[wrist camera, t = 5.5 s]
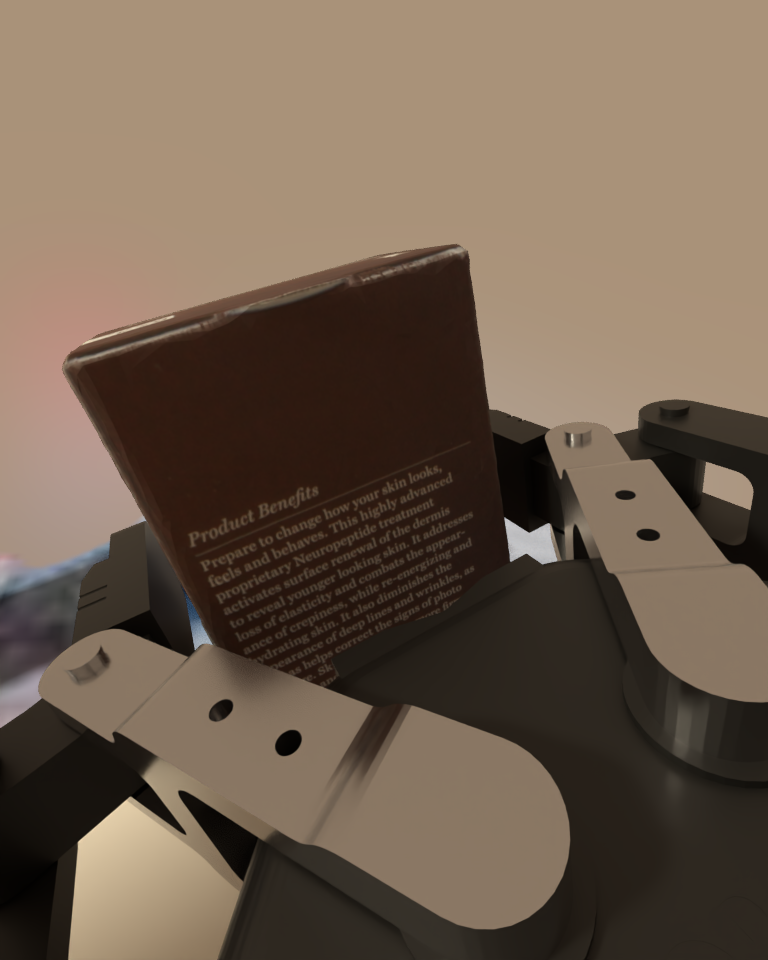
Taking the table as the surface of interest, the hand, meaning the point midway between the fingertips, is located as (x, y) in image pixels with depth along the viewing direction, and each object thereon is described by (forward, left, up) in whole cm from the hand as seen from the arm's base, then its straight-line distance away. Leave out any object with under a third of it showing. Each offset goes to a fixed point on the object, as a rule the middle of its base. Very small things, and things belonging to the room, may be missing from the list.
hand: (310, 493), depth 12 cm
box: (0, -2, -7) cm, 7 cm away
